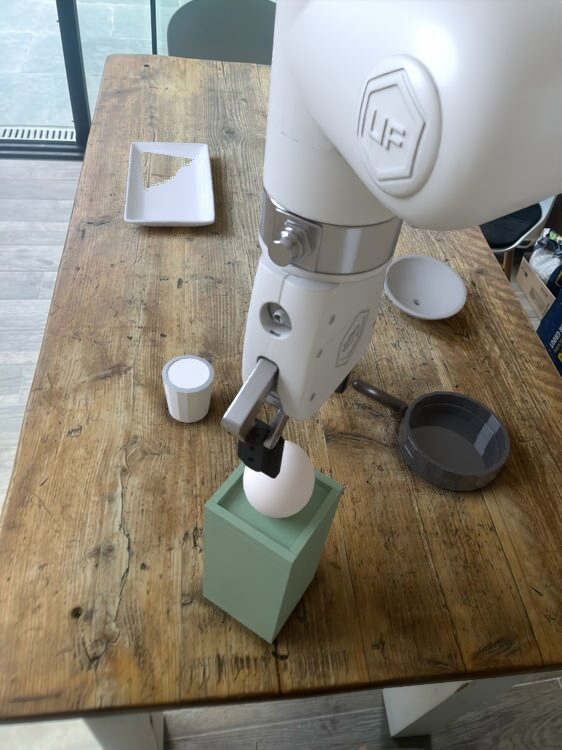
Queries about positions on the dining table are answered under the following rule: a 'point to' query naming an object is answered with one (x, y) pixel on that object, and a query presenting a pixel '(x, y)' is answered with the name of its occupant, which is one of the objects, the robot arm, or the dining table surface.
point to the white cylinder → (188, 387)
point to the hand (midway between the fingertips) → (294, 422)
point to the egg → (282, 484)
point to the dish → (424, 287)
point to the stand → (263, 553)
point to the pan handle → (379, 396)
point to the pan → (453, 440)
